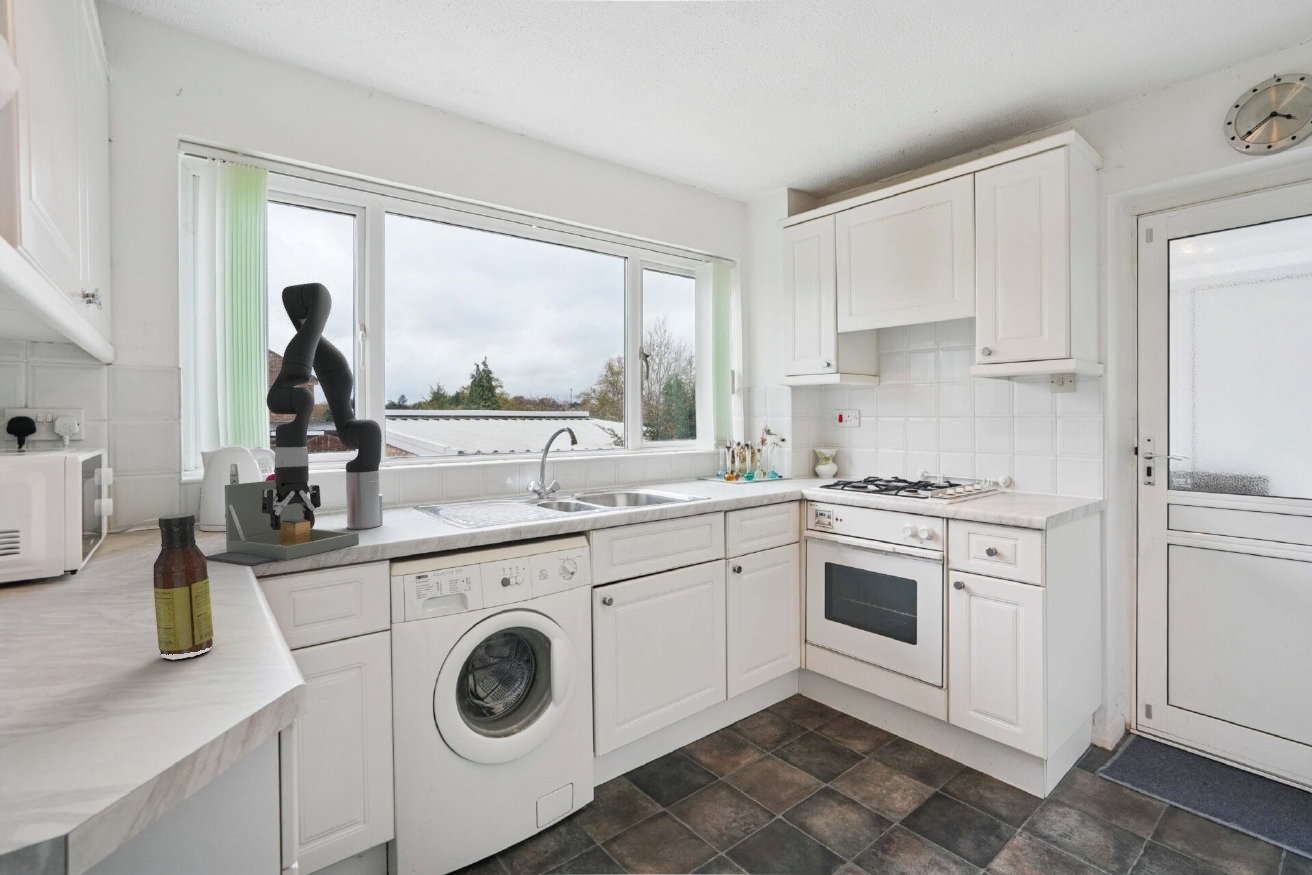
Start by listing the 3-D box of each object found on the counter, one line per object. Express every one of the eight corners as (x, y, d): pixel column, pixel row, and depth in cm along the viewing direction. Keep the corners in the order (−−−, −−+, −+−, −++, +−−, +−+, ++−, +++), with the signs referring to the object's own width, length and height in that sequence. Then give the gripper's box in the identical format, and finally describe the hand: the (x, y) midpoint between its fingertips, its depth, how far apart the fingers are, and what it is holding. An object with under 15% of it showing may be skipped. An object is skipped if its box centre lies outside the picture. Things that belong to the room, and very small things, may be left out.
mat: (230, 553, 155) (230, 551, 155) (277, 560, 147) (277, 557, 147) (204, 559, 149) (203, 556, 149) (251, 565, 142) (251, 563, 142)
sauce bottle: (206, 642, 92) (202, 509, 92) (220, 652, 88) (215, 513, 88) (150, 656, 87) (145, 515, 87) (162, 667, 83) (157, 519, 83)
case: (301, 538, 175) (299, 477, 175) (358, 544, 165) (357, 480, 165) (226, 552, 157) (224, 485, 156) (286, 560, 147) (284, 488, 147)
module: (295, 546, 164) (294, 518, 164) (310, 547, 161) (309, 519, 161) (280, 549, 160) (280, 520, 160) (296, 550, 158) (295, 521, 158)
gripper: (308, 462, 168) (308, 522, 168) (254, 465, 155) (255, 530, 156) (326, 463, 165) (327, 524, 165) (273, 466, 152) (274, 532, 152)
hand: (292, 527), depth 160 cm, fingers open, 8 cm apart
